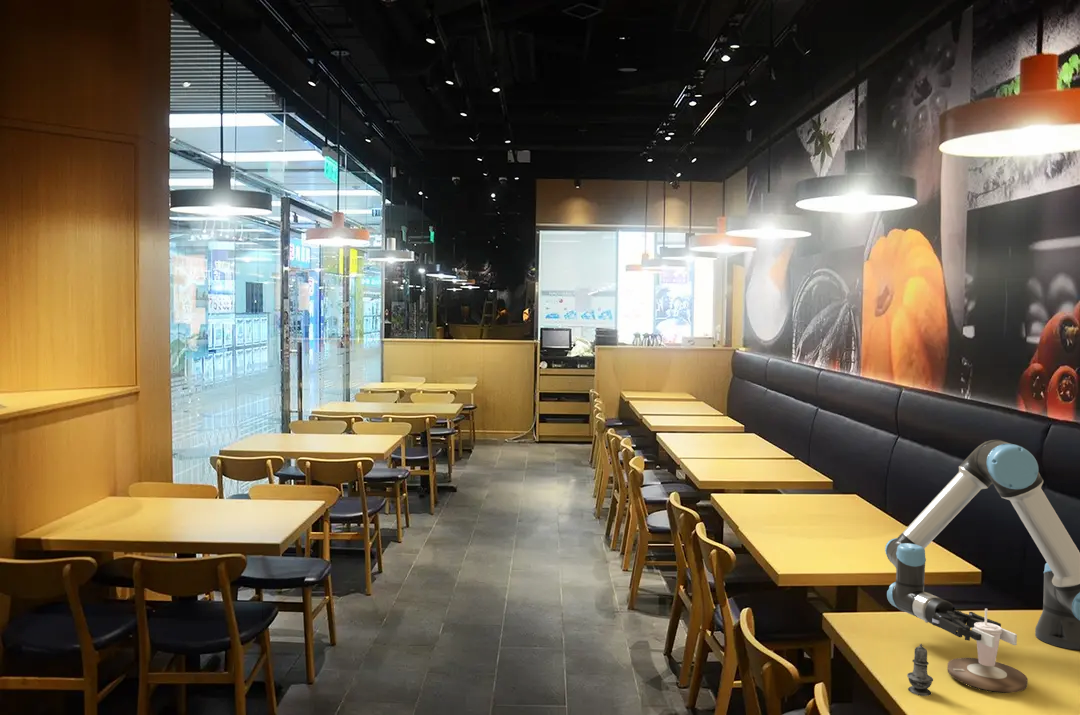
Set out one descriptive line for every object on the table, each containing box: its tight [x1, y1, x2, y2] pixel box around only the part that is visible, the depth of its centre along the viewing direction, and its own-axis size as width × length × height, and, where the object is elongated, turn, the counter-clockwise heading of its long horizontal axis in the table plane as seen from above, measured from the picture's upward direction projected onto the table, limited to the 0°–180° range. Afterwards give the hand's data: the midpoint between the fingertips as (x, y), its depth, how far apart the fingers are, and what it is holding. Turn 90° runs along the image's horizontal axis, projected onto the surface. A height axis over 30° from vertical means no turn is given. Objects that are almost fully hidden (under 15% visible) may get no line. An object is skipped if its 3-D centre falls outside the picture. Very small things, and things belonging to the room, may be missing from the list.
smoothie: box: [974, 608, 1002, 666], centre depth 206 cm, size 6×6×14 cm
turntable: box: [946, 657, 1029, 693], centre depth 206 cm, size 18×18×2 cm
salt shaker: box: [906, 643, 934, 697], centre depth 199 cm, size 6×6×12 cm
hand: (1004, 640), depth 201 cm, fingers closed on smoothie, 6 cm apart
